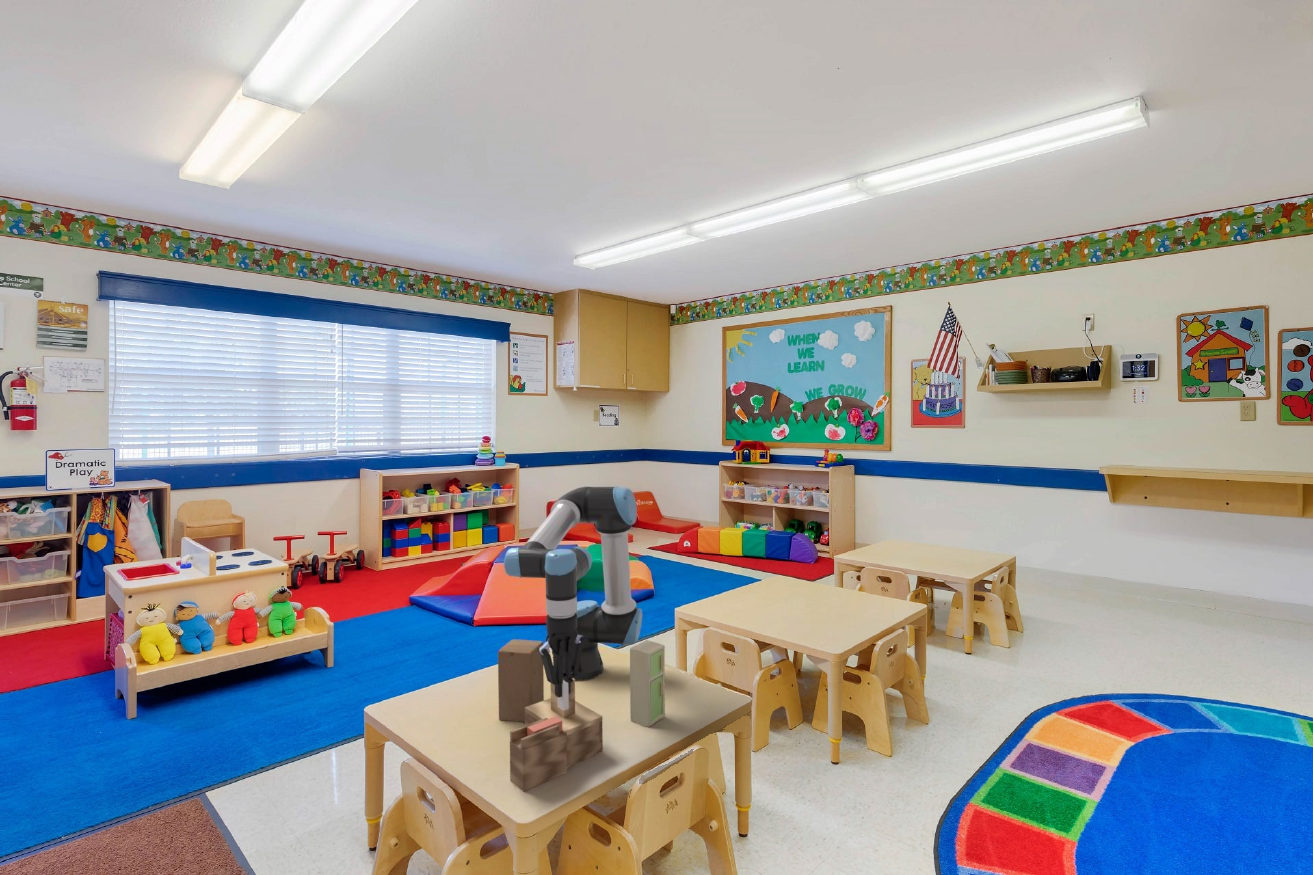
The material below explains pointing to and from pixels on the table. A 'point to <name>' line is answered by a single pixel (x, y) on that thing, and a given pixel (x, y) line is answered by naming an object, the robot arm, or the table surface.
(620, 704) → the table surface
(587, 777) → the table surface
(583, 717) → the lid
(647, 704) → the toy refrigerator
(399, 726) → the table surface
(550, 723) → the pink rectangular block
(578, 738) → the brown wooden open box
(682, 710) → the table surface
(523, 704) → the wooden block
